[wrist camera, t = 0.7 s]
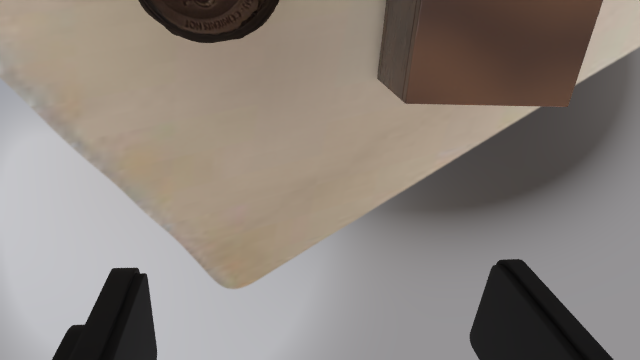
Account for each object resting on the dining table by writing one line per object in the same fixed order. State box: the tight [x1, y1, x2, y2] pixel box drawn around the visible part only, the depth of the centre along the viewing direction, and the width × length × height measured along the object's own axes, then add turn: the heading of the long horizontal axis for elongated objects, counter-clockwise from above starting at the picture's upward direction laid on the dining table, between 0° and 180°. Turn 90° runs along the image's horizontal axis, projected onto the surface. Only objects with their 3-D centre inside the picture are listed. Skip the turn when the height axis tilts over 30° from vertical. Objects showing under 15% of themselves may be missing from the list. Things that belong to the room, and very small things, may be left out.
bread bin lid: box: [402, 0, 603, 107], centre depth 29 cm, size 11×14×4 cm
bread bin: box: [377, 0, 417, 100], centre depth 34 cm, size 11×14×7 cm
